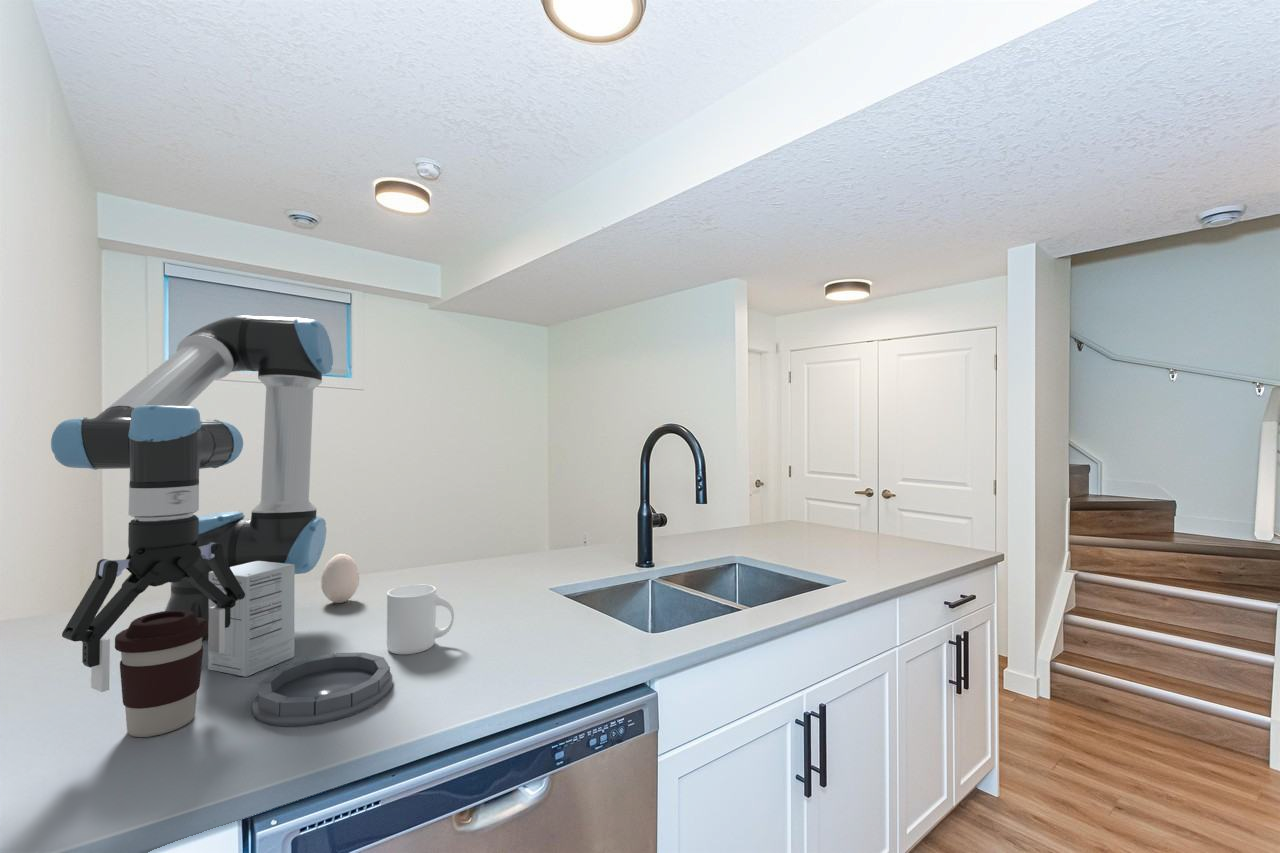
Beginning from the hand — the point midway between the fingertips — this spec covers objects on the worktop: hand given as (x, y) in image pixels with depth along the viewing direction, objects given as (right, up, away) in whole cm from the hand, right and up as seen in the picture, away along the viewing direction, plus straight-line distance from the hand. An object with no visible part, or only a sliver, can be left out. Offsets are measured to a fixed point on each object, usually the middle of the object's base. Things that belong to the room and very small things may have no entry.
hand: (162, 669), depth 79 cm
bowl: (+18, -8, +9) cm, 21 cm away
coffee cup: (0, -8, 0) cm, 8 cm away
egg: (-4, -8, +55) cm, 56 cm away
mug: (+25, -8, +29) cm, 39 cm away
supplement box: (-2, -8, +20) cm, 22 cm away
